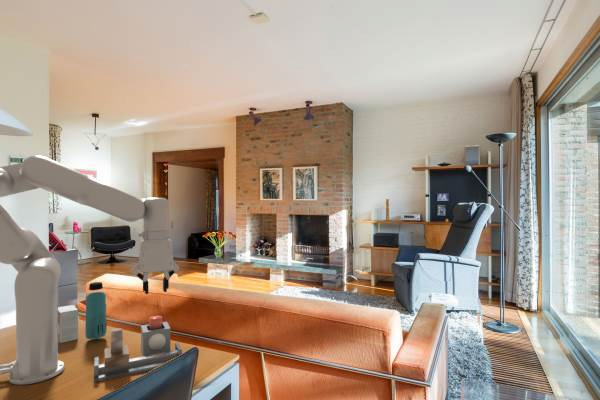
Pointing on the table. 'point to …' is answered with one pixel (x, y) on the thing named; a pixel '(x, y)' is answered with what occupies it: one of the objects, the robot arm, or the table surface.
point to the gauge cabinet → (155, 339)
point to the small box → (67, 323)
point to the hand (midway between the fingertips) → (155, 291)
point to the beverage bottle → (95, 312)
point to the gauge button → (155, 322)
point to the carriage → (116, 351)
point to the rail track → (135, 365)
